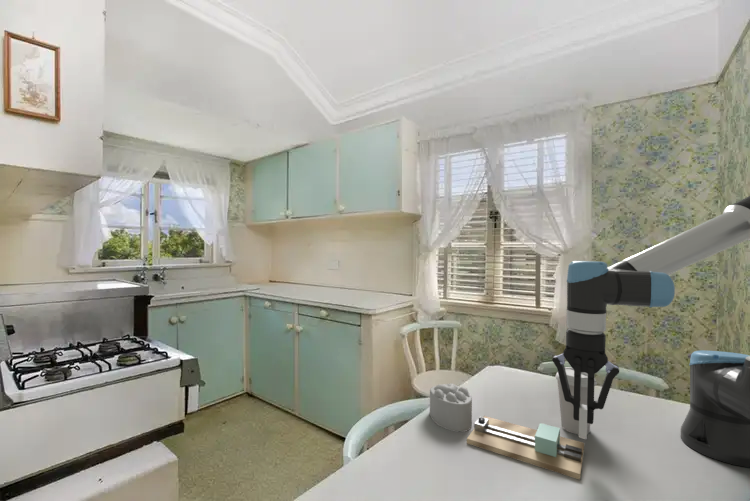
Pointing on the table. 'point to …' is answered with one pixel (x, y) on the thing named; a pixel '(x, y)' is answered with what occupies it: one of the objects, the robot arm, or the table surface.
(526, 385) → the table surface
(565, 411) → the coffee cup
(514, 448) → the board
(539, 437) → the mint sliding carriage
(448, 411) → the lumpy-topped squat cylinder
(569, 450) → the slide rail
